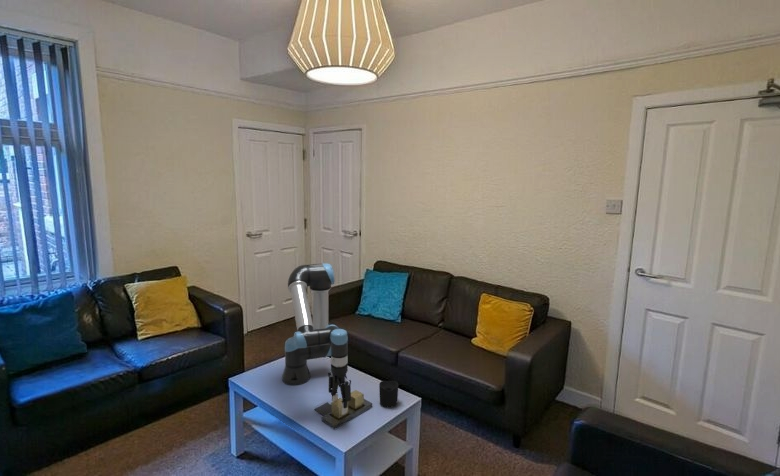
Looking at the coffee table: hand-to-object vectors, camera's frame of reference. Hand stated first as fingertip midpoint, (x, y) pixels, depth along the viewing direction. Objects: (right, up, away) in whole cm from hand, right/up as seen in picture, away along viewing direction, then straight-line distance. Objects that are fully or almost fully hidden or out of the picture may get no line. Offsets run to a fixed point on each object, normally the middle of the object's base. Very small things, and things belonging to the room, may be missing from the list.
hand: (339, 410), depth 182 cm
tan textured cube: (0, -4, +1) cm, 4 cm away
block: (+7, -3, +8) cm, 11 cm away
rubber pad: (-7, -3, +7) cm, 11 cm away
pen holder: (+23, -2, +14) cm, 27 cm away
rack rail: (+3, -3, +4) cm, 6 cm away
